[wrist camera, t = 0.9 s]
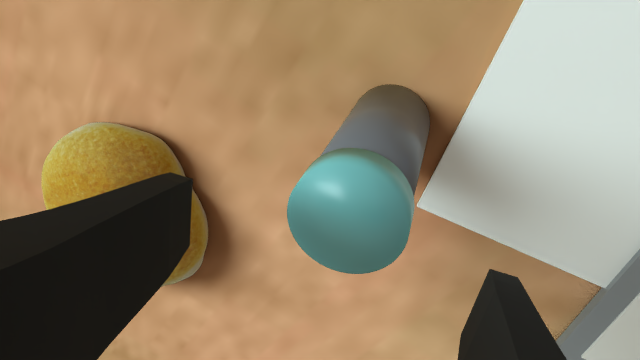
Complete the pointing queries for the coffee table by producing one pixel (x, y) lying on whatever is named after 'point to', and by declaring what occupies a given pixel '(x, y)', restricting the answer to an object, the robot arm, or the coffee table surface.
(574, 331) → the picture frame
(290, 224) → the grey teal-capped tube
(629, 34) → the paper
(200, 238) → the bread roll
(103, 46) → the coffee table surface
